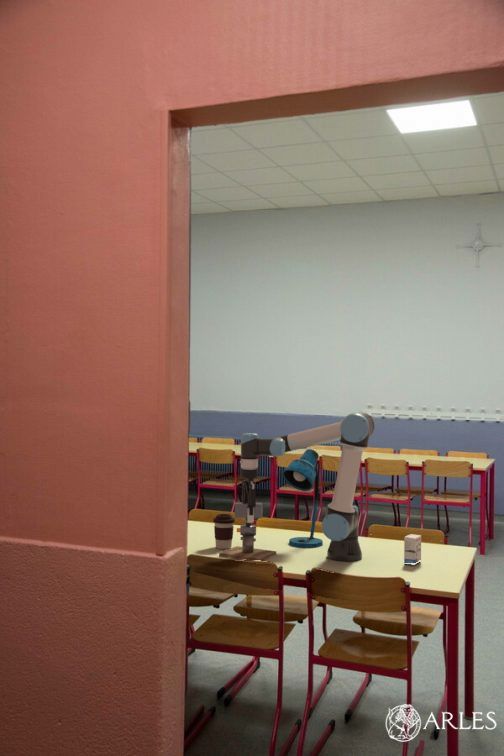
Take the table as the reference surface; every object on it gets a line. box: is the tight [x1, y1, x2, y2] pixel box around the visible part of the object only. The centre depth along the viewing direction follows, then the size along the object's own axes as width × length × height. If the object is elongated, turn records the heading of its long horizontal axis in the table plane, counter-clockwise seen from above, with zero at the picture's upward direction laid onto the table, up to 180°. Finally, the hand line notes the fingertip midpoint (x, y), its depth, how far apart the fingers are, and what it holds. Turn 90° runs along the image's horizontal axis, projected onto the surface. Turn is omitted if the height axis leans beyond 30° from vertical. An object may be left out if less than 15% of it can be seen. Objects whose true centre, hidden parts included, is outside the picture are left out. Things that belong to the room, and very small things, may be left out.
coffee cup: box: [212, 513, 236, 550], centre depth 343 cm, size 10×10×15 cm
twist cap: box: [234, 501, 263, 537], centre depth 328 cm, size 12×7×14 cm, turn 88°
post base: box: [218, 536, 277, 561], centre depth 328 cm, size 20×16×9 cm
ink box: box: [403, 533, 422, 564], centre depth 318 cm, size 9×5×12 cm, turn 148°
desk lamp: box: [281, 448, 324, 549], centre depth 352 cm, size 16×22×45 cm
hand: (248, 521), depth 328 cm, fingers closed on twist cap, 5 cm apart
